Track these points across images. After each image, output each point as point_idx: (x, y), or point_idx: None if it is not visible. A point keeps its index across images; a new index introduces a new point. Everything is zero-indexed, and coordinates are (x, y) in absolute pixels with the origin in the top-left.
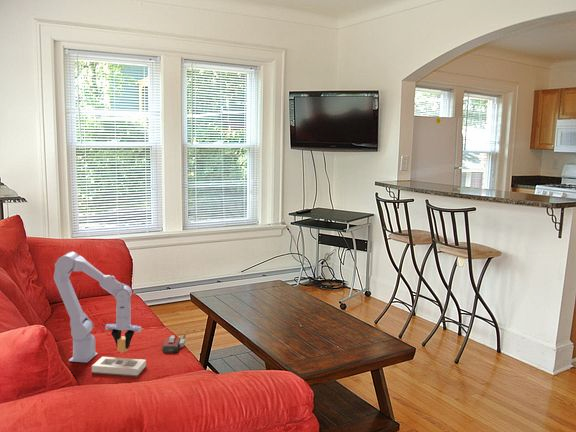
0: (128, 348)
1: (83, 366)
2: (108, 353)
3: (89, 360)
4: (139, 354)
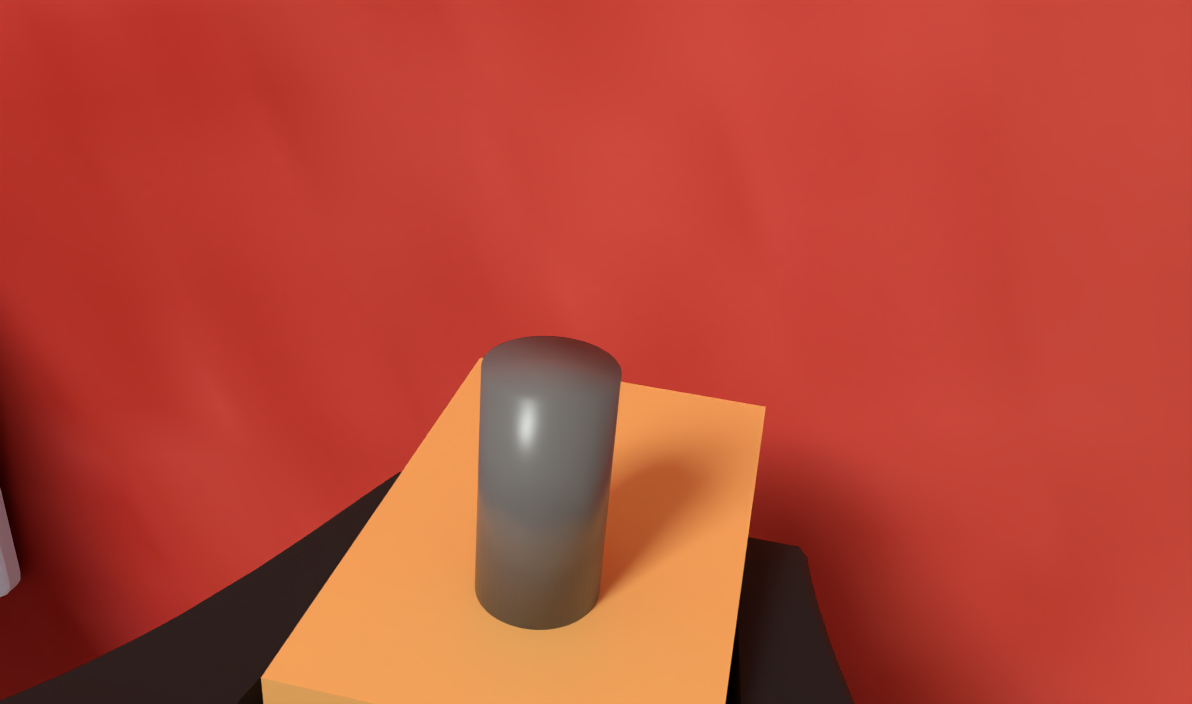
0: (761, 431)
1: None
2: (139, 45)
3: (4, 519)
4: (1110, 63)
